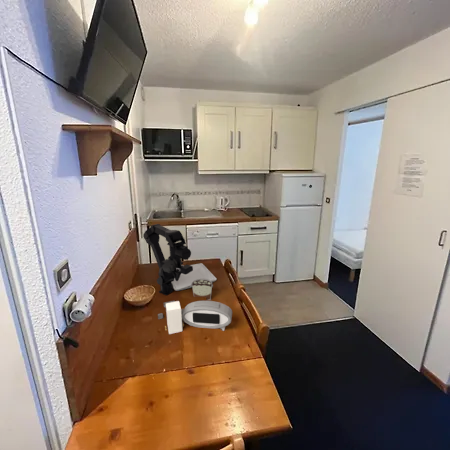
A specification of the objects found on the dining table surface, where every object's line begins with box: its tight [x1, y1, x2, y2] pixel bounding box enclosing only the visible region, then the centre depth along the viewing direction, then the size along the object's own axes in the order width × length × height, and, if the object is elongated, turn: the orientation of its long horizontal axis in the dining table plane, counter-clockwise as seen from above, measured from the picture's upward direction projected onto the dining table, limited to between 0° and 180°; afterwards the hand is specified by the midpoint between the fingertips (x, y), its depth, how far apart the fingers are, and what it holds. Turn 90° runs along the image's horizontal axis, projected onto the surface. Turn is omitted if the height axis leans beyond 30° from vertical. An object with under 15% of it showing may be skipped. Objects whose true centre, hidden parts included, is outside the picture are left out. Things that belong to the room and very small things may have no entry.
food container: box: [191, 279, 214, 301], centre depth 143 cm, size 12×6×10 cm, turn 84°
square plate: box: [172, 262, 217, 292], centre depth 164 cm, size 27×27×4 cm
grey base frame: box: [157, 300, 185, 331], centre depth 125 cm, size 26×13×3 cm, turn 19°
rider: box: [165, 300, 183, 335], centre depth 114 cm, size 6×6×13 cm
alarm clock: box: [181, 300, 233, 332], centre depth 118 cm, size 23×6×13 cm, turn 83°
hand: (177, 280), depth 138 cm, fingers closed
